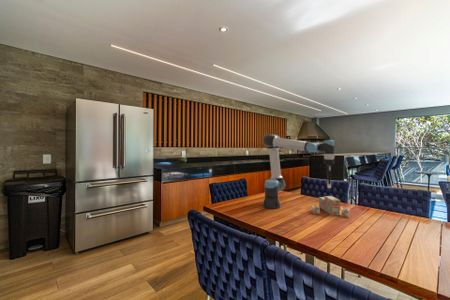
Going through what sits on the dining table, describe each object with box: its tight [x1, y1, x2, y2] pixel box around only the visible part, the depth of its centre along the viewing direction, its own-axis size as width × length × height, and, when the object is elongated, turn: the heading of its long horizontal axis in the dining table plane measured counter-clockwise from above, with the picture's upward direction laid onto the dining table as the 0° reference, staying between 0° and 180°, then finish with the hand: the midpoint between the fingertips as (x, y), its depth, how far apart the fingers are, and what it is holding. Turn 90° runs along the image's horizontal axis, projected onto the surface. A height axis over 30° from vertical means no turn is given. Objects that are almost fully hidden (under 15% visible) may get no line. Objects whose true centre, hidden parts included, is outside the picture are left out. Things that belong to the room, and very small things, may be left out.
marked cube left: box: [311, 205, 321, 215], centre depth 173 cm, size 5×5×5 cm
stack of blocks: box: [318, 195, 341, 217], centre depth 176 cm, size 21×6×12 cm, turn 2°
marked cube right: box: [340, 207, 350, 218], centre depth 165 cm, size 5×5×5 cm
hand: (329, 187), depth 175 cm, fingers closed
